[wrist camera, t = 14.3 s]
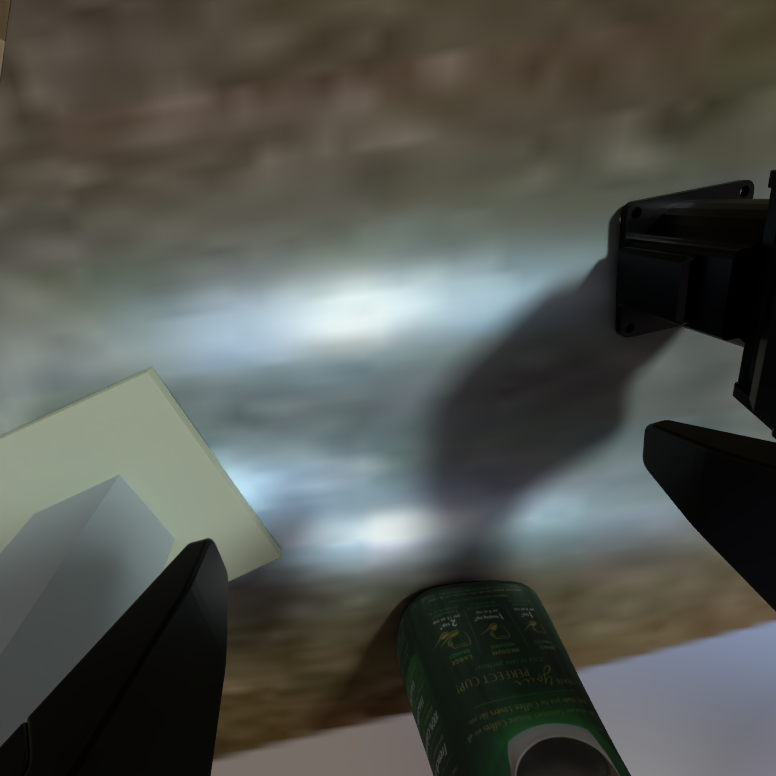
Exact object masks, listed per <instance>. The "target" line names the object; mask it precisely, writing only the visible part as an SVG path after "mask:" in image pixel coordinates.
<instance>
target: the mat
mask: <svg viewBox="0 0 776 776" xmlns="http://www.w3.org/2000/svg"><path fill="white" fill-rule="evenodd" d="M119 474H120V475H121V476H122V478H123V479H124V480H125V481H126V482H127V483H128V485H129V486H130V487H131V488H132V489H133V490H134V492H135V493H136V494H137V495H138V496H139V497H140V499H141V500H142V501H143V502H144V503H145V504H146V506H147V507H148V508H149V509H150V510H151V511H152V513H153V514H154V515H155V516H156V517H157V518H158V520H159V521H160V522H161V523H162V524H163V525H164V527H165V528H166V529H167V530H168V531H169V532H170V534H171V535H172V536H173V537H174V538H175V540H174V542H173V545H172V548H171V550H170V553H169V556H168V559H167V561H166V564H165V567H164V569H165V568H166V567H167V566H168V565H169V564H170V563H171V562H172V561H173V560H174V558H175V557H176V556H177V555H178V554H179V553H180V552H181V551H182V550H183V549H184V548H185V547H186V546H187V545H188V544H189V543H191V542H195V541H198V540H202V539H206V538H210V539H212V540H213V541H214V542H215V544H216V546H217V548H218V551H219V553H220V555H221V558H222V560H223V562H224V565H225V567H226V570H227V574H228V582H229V581H231V580H233V579H235V578H237V577H240V576H242V575H244V574H246V573H248V572H251V571H253V570H255V569H257V568H259V567H262V566H264V565H266V564H268V563H270V562H272V561H275V560H277V559H279V558H281V549H280V548H279V547H278V545H277V544H276V542H275V541H274V539H273V538H272V537H271V535H270V534H269V532H268V531H267V530H266V528H265V527H264V525H263V524H262V523H261V521H260V520H259V518H258V517H257V515H256V514H255V513H254V511H253V510H252V508H251V507H250V506H249V504H248V503H247V501H246V500H245V498H244V497H243V496H242V494H241V493H240V491H239V490H238V489H237V487H236V486H235V484H234V483H233V481H232V480H231V479H230V477H229V476H228V474H227V473H226V472H225V470H224V469H223V467H222V466H221V465H220V463H219V462H218V460H217V459H216V457H215V456H214V455H213V453H212V452H211V450H210V449H209V448H208V446H207V445H206V443H205V442H204V440H203V439H202V438H201V436H200V435H199V433H198V432H197V431H196V429H195V428H194V426H193V425H192V424H191V422H190V421H189V419H188V418H187V416H186V415H185V414H184V412H183V411H182V409H181V408H180V407H179V405H178V404H177V402H176V401H175V399H174V398H173V397H172V395H171V394H170V392H169V391H168V390H167V388H166V387H165V385H164V384H163V383H162V381H161V380H160V378H159V377H158V375H157V374H156V373H155V371H154V370H153V368H152V367H151V368H148V369H146V370H144V371H142V372H140V373H137V374H135V375H133V376H131V377H129V378H127V379H124V380H122V381H120V382H118V383H116V384H113V385H111V386H109V387H107V388H105V389H102V390H100V391H98V392H96V393H94V394H91V395H89V396H87V397H85V398H83V399H80V400H78V401H76V402H74V403H72V404H69V405H67V406H65V407H63V408H61V409H59V410H56V411H54V412H52V413H50V414H48V415H45V416H43V417H41V418H39V419H37V420H34V421H32V422H30V423H28V424H26V425H23V426H21V427H19V428H17V429H15V430H12V431H10V432H8V433H6V434H4V435H2V436H0V554H1V552H2V551H3V550H4V549H5V548H6V546H7V545H8V544H9V543H10V542H11V541H12V539H13V538H14V537H15V536H16V535H17V533H18V532H19V531H20V530H21V529H22V528H23V526H24V525H25V524H26V523H27V522H28V521H29V519H30V518H31V517H32V516H33V515H34V514H35V513H37V512H40V511H42V510H44V509H46V508H48V507H50V506H52V505H55V504H57V503H59V502H61V501H63V500H65V499H68V498H70V497H72V496H74V495H76V494H78V493H80V492H83V491H85V490H87V489H89V488H91V487H93V486H95V485H98V484H100V483H102V482H104V481H106V480H108V479H111V478H113V477H115V476H117V475H119ZM164 569H163V570H164Z"/></svg>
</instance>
